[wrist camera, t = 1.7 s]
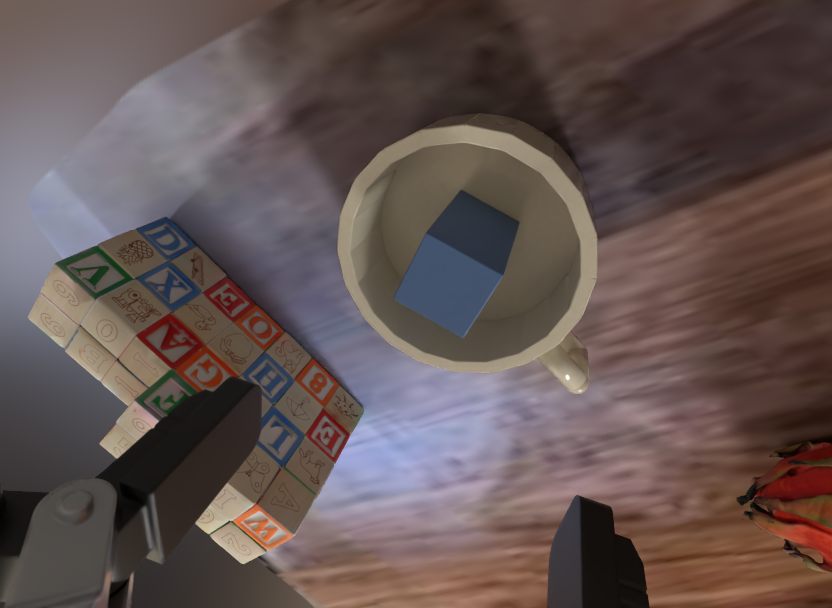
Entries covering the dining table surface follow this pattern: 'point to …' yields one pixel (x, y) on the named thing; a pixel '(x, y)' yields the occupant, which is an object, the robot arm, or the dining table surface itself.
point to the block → (458, 263)
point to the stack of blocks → (200, 371)
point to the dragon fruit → (797, 501)
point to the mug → (529, 259)
